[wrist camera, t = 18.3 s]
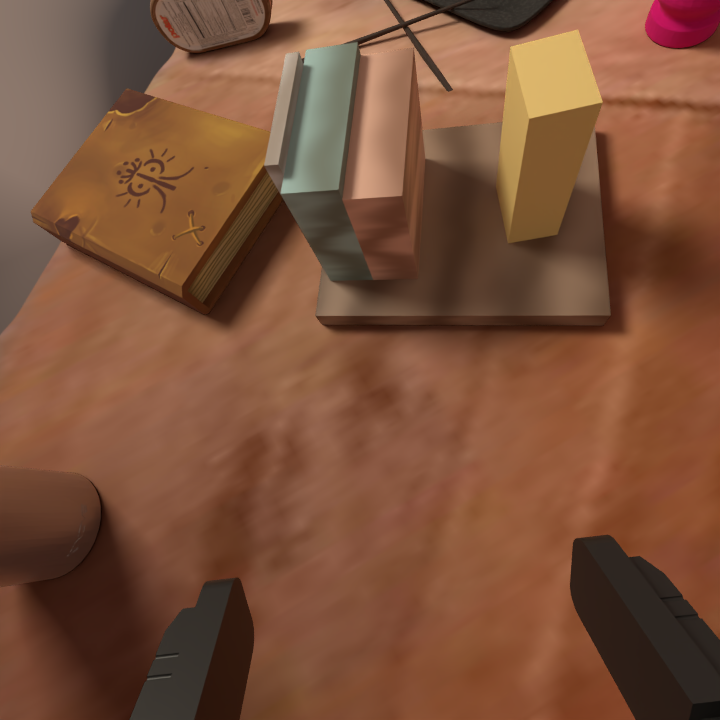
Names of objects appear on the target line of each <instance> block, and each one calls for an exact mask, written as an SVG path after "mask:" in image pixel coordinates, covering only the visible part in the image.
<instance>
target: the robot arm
mask: <svg viewBox="0 0 720 720" xmlns="http://www.w3.org/2000/svg"><path fill="white" fill-rule="evenodd" d="M100 520H101V505H100V500H99V496H98V494H97V491H96V489H95V487H94V486H93V485H92V483H91V482H90V481H89V480H88V479H86V478H85V477H84V476H82V475H79V474H76V473H69V472H59V471H50V470H40V469H32V468H22V467H12V466H2V465H0V587H4V586H11V585H18V584H24V583H30V582H36V581H42V580H48V579H54V578H57V577H60V576H63V575H65V574H67V573H68V572H70V571H71V570H73V569H74V568H75V567H76V566H77V565H78V564H80V563H81V562H82V561H83V559H84V558H85V557H86V555H87V554H88V553H89V551H90V549H91V547H92V545H93V544H94V542H95V539H96V536H97V533H98V530H99V526H100ZM570 590H571V596H572V600H573V603H574V606H575V609H576V611H577V613H578V615H579V617H580V619H581V621H582V623H583V625H584V626H585V628H586V630H587V632H588V634H589V635H590V637H591V639H592V641H593V643H594V645H595V646H596V648H597V650H598V652H599V654H600V655H601V657H602V659H603V661H604V663H605V665H606V666H607V668H608V670H609V672H610V674H611V675H612V677H613V679H614V681H615V683H616V685H617V686H618V688H619V690H620V692H621V694H622V695H623V697H624V699H625V701H626V703H627V705H628V706H629V708H630V710H631V712H632V714H633V715H634V717H635V719H636V720H720V640H719V639H718V637H717V636H716V635H715V634H714V633H713V631H712V630H711V629H710V628H709V627H708V625H707V624H706V623H705V622H704V621H703V619H700V618H699V617H698V613H697V612H696V611H695V610H694V609H693V607H692V606H691V605H690V604H689V603H688V601H687V600H684V599H683V597H682V594H681V593H680V592H679V591H678V589H677V588H676V587H675V586H674V585H673V583H672V582H671V581H670V580H669V579H668V577H667V576H666V575H665V574H664V573H663V572H661V571H660V570H659V569H657V568H656V567H654V566H653V565H652V564H650V563H649V562H647V561H646V560H645V559H643V558H642V557H640V556H637V557H628V556H627V555H626V553H625V552H624V551H623V550H622V548H621V547H620V546H619V544H618V543H617V542H616V541H615V539H614V538H613V537H611V536H610V535H601V536H593V537H584V538H576V539H575V540H574V542H573V551H572V565H571V579H570ZM253 646H254V627H253V621H252V617H251V614H250V610H249V607H248V604H247V600H246V597H245V593H244V590H243V587H242V583H241V581H240V579H239V578H230V579H221V580H213V581H207V582H205V584H204V585H203V587H202V590H201V593H200V595H199V598H198V601H197V604H196V607H194V608H186V609H182V610H181V612H180V613H179V614H178V615H177V617H176V618H175V619H174V621H173V622H172V623H171V624H170V626H169V627H168V628H167V629H166V631H165V633H164V636H163V638H162V641H161V643H160V646H159V648H158V651H157V653H156V659H155V660H153V663H152V665H151V668H150V670H149V673H148V675H147V681H145V683H144V685H143V688H142V690H141V693H140V695H139V698H138V700H137V703H136V705H135V708H134V710H133V713H132V715H131V717H130V720H239V719H240V714H241V709H242V704H243V699H244V694H245V689H246V684H247V679H248V673H249V668H250V663H251V658H252V653H253Z"/></svg>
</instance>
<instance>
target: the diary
mask: <svg viewBox="0 0 720 720" xmlns="http://www.w3.org/2000/svg"><path fill="white" fill-rule="evenodd" d="M270 133H271V132H269V131H266V130H263V129H259V128H256V127H253V126H249V125H246V124H243V123H239V122H236V121H233V120H229V119H226V118H223V117H220V116H216V115H213V114H210V113H206V112H203V111H200V110H196V109H193V108H190V107H186V106H183V105H180V104H176V103H173V102H170V101H167V100H163V99H160V98H157V97H153V96H150V95H147V94H143V93H140V92H137V91H133V90H130V89H126V90H125V91H124V92H123V94H122V95H121V96H120V98H119V99H118V100H117V101H116V103H115V104H114V105H113V107H112V108H111V109H110V111H109V112H108V113H107V114H106V116H105V117H104V118H103V119H102V121H101V122H100V123H99V125H98V126H97V127H96V129H95V130H94V131H93V132H92V133H91V135H90V136H89V137H88V139H87V140H86V141H85V142H84V144H83V145H82V146H81V148H80V149H79V150H78V151H77V153H76V154H75V155H74V157H73V158H72V159H71V161H70V162H69V163H68V164H67V166H66V167H65V168H64V169H63V171H62V172H61V173H60V174H59V176H58V177H57V178H56V180H55V181H54V182H53V184H52V185H51V186H50V187H49V189H48V190H47V191H46V192H45V194H44V195H43V196H42V198H41V199H40V200H39V201H38V203H37V204H36V205H35V207H34V208H33V209H32V211H31V214H32V218H33V222H34V223H35V224H37V225H38V226H40V227H41V228H43V229H44V230H46V231H47V232H49V233H50V234H52V235H53V236H55V237H56V238H58V239H59V240H61V241H62V242H64V243H66V244H68V245H70V246H72V247H74V248H76V249H78V250H80V251H82V252H83V253H85V254H87V255H89V256H91V257H93V258H95V259H97V260H99V261H101V262H103V263H105V264H107V265H109V266H111V267H113V268H115V269H117V270H118V271H120V272H122V273H124V274H126V275H128V276H130V277H132V278H134V279H136V280H138V281H140V282H142V283H144V284H146V285H148V286H150V287H152V288H153V289H155V290H157V291H159V292H161V293H163V294H165V295H167V296H169V297H171V298H173V299H175V300H177V301H179V302H181V303H183V304H185V305H187V306H188V307H190V308H192V309H194V310H196V311H198V312H200V313H202V314H204V315H205V314H208V313H210V311H211V309H212V308H213V306H214V305H215V303H216V302H217V300H218V299H219V297H220V296H221V294H222V293H223V291H224V290H225V288H226V287H227V285H228V283H229V282H230V280H231V279H232V277H233V276H234V274H235V273H236V271H237V270H238V268H239V267H240V265H241V264H242V262H243V260H244V259H245V257H246V256H247V254H248V253H249V251H250V250H251V248H252V247H253V245H254V244H255V242H256V241H257V239H258V238H259V236H260V234H261V233H262V231H263V230H264V228H265V227H266V225H267V224H268V222H269V221H270V219H271V218H272V216H273V215H274V213H275V211H276V210H277V208H278V207H279V205H280V204H281V202H282V201H283V198H282V196H281V194H280V193H279V191H278V189H277V187H276V186H275V184H274V182H273V180H272V179H271V177H270V175H269V173H268V172H267V170H266V168H265V167H264V163H265V158H266V153H267V148H268V143H269V138H270Z"/></svg>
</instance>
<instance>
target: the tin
mask: <svg viewBox="0 0 720 720" xmlns="http://www.w3.org/2000/svg"><path fill="white" fill-rule="evenodd" d="M150 2H151V3H150V11H151V17H152V20H153V22H154V24H155V26H156V27H157V29H158V30H159V31H160V33H161V34H162V35H163V36H164V38H165V39H166V40H167V41H169V42H170V43H171V44H172V45H174V46H175V47H177V48H179V49H181V50H184V51H187V52H192V53H201V52H206V51H210V50H215V49H219V48H223V47H227V46H231V45H236V44H240V43H244V42H248V41H252V40H255V39H257V38H259V37H261V36H262V35H263V34H264V33H265V31H266V30H267V28H268V26H269V23H270V18H271V9H272V0H151V1H150Z"/></svg>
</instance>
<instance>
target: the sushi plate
mask: <svg viewBox="0 0 720 720" xmlns="http://www.w3.org/2000/svg"><path fill="white" fill-rule="evenodd" d="M384 1H385V2H386V4H387V5H388V7H389V8H390V10H391V11H392V13H393V14H394V16H395V17H396V19H397V20H398V22H399V23H400V24H398V25H395V26H392V27H389V28H387V29H384V30H381V31H378V32H376V33H373V34H370V35H367V36H364V37H361V38H359V39H356V40H353V41H350V42H347V43H344V44H349V43H355V42H358V45H359V44H362V43H365V42H367V41H370V40H372V39H375V38H377V37H380V36H382V35H385V34H387V33H390V32H393V31H395V30H398V29H400V28H403V29H404V31H405V32H406V34H407V35H408V37H409V38H410V40H411V41H412V43H413V44H414V46H415V48H416V49H417V51H418V52H419V54H420V55H421V57H422V58H423V60H424V61H425V62H426V64H427V65H428V66H429V68H430V69H431V70H432V72H433V73H434V74H435V76H436V77H437V78H438V80H439V81H440V82H441V84H442V85H443V86H444V87H445V89H446V90H447V91H448V92H449V91H452V90H453V89H452V88H451V86H450V85H449V83H448V82H447V81H446V79H445V78H444V76H443V75H442V74H441V72H440V71H439V69H438V68H437V67H436V65H435V64H434V62H433V61H432V60H431V58H430V57H429V55H428V54H427V53H426V51H425V50H424V48H423V47H422V46H421V44H420V43H419V42H418V40H417V39H416V38H415V36H414V35H413V33H412V32H411V31H410V29H409V28H408V27H407V26H408V25H411V24H413V23H416V22H419V21H421V20H424V19H427V18H429V17H432V16H435V15H437V14H440V13H442V12H445V11H449V12H451V13H454V14H456V15H458V16H460V17H463V18H465V19H467V20H470V21H472V22H474V23H477V24H479V25H482V26H485V27H488V28H491V29H494V30H499V31H512V30H515V29H518V28H519V27H521V26H523V25H525V24H526V23H528V22H529V21H530V20H532V19H533V18H534V17H535V16H536V15H537V14H539V13H540V12H541V11H542V10H543V9H544V8H545V7H546V6H547V5H548V4H549V3H550V2H551V1H552V0H424V1H426V2H429V3H431V4H433V5H436V6H438V7H440V8H441V9H438V10H436V11H433V12H430V13H428V14H425V15H422V16H420V17H417V18H414V19H411V20H409V21H406V22H404V21H403V20H402V18H401V17H400V15H399V14H398V13H397V11H396V10H395V8H394V7H393V6H392V4H391V3H390V1H389V0H384ZM304 59H305V58H303V59H302V62H303V64H304Z"/></svg>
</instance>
